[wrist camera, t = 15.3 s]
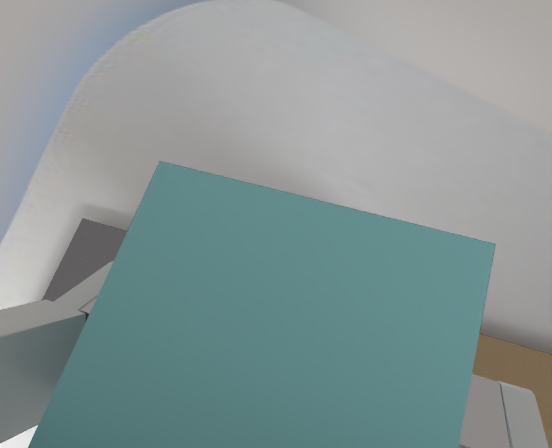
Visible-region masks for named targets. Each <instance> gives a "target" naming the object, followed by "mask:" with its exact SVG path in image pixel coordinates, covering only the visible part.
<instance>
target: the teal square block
mask: <svg viewBox="0 0 552 448" xmlns="http://www.w3.org/2000/svg"><path fill="white" fill-rule="evenodd" d="M494 250H495V244H494V243H490V242H486V241H481V240H477V239H473V238H469V237H465V236H461V235H457V234H453V233H449V232H445V231H441V230H437V229H433V228H429V227H425V226H421V225H417V224H413V223H409V222H405V221H401V220H396V219H392V218H388V217H384V216H380V215H376V214H372V213H368V212H364V211H360V210H356V209H352V208H348V207H344V206H340V205H336V204H332V203H328V202H324V201H320V200H316V199H311V198H307V197H303V196H299V195H295V194H291V193H287V192H283V191H279V190H275V189H271V188H267V187H263V186H259V185H255V184H251V183H247V182H243V181H239V180H235V179H231V178H226V177H222V176H218V175H214V174H210V173H206V172H202V171H198V170H194V169H190V168H186V167H182V166H178V165H174V164H170V163H166V162H162V161H160V162H159V164H158V166H157V168H156V170H155V173H154V175H153V177H152V179H151V181H150V183H149V186H148V188H147V190H146V192H145V194H144V196H143V199H142V201H141V203H140V205H139V207H138V210H137V212H136V214H135V216H134V218H133V220H132V223H131V225H130V227H129V229H128V231H127V233H126V236H125V238H124V240H123V242H122V244H121V247H120V249H119V251H118V253H117V255H116V257H115V260H114V262H113V264H112V266H111V268H110V270H109V273H108V275H107V277H106V279H105V281H104V284H103V286H102V288H101V290H100V292H99V294H98V297H97V299H96V301H95V303H94V305H93V307H92V310H91V312H90V314H89V316H88V318H87V320H86V323H85V325H84V327H83V329H82V331H81V334H80V336H79V338H78V340H77V342H76V344H75V347H74V349H73V351H72V353H71V355H70V357H69V360H68V362H67V364H66V366H65V368H64V371H63V373H62V375H61V377H60V379H59V381H58V384H57V386H56V388H55V390H54V392H53V394H52V397H51V399H50V401H49V403H48V405H47V408H46V410H45V412H44V414H43V416H42V418H41V421H40V423H39V425H38V427H37V429H36V431H35V434H34V436H33V438H32V440H31V442H30V444H29V447H28V448H458V447H459V442H460V436H461V431H462V425H463V420H464V414H465V409H466V403H467V398H468V392H469V387H470V381H471V376H472V370H473V365H474V359H475V354H476V349H477V343H478V338H479V332H480V327H481V321H482V316H483V310H484V305H485V299H486V294H487V288H488V283H489V277H490V272H491V266H492V261H493V255H494Z"/></svg>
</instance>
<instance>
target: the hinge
mask: <svg viewBox="0 0 552 448" xmlns="http://www.w3.org/2000/svg"><path fill="white" fill-rule="evenodd" d="M126 233H127V231H124V230H121V229H117V228H114V227H111V226H107V225H104V224H100V223H97V222H93V221H90V220H86V219H82V221H81V223H80V225H79V227H78V229H77V231H76V233H75V235H74V237H73V239H72V241H71V243H70V245H69V247H68V249H67V251H66V253H65V255H64V257H63V259H62V261H61V263H60V265H59V267H58V269H57V271H56V273H55V275H54V277H53V279H52V281H51V283H50V286H49V288H48V290H47V292H46V294H45V296H44V298H43V300H49V301H52V302H54V301H55V300H57V299H58V298H60V297H61V296H62V295H64V294H65V293H67V292H68V291H70V290H71V289H72V288H74V287H75V286H77V285H78V284H80V283H81V282H82V281H84V280H85V279H87V278H88V277H89V276H91V275H92V274H94V273H95V272H97V271H98V270H99V269H101V268H102V267H104V266H105V265H107V264H108V263H109V262H112V261H114V260H115V257H116V255H117V253H118V251H119V249H120V247H121V244H122V242H123V240H124V238H125V236H126ZM472 374H474V375H477V376H481V377H484V378H487V379H490V380H493V381H501V382H504V383H507V384H511V385H514V386H518V387H521V388H525V389H528V390H531V391H532V392H533V394H534V395H535V397H536V401H537V405H538V409H539V412H540V416H541V420H542V424H543V427H544V431H545V435H546V439H547V443H548V446H549V448H552V355H551V354H548V353H544V352H541V351H538V350H534V349H531V348H527V347H524V346H520V345H517V344H513V343H510V342H507V341H503V340H500V339H496V338H493V337H489V336H486V335H482V334H479V338H478V343H477V349H476V354H475V359H474V365H473V370H472Z"/></svg>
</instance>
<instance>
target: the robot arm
mask: <svg viewBox="0 0 552 448" xmlns="http://www.w3.org/2000/svg"><path fill="white" fill-rule="evenodd" d="M113 262H114V261H112V262H109V263H108V264H107V265H105V266H104V267H102V268H101V269H99V270H98V271H97V272H95V273H94V274H92V275H91V276H89V277H88V278H87V279H85V280H84V281H82V282H81V283H80V284H78V285H77V286H75V287H74V288H72V289H71V290H70V291H68V292H67V293H65V294H64V295H62V296H61V297H60V298H58V299H57V300H55V301H54V302H52V301H49V300H42V301H38V302H33V303H29V304H25V305H20V306H16V307H12V308H7V309H3V310H0V443H2V442H4V441H6V440H8V439H10V438H12V437H14V436H16V435H18V434H20V433H22V432H24V431H26V430H28V429H30V428H32V427H34V426H36V425H38V424H39V423H40V421H41V418H42V416H43V414H44V412H45V410H46V408H47V405H48V403H49V401H50V399H51V397H52V394H53V392H54V390H55V388H56V386H57V384H58V381H59V379H60V377H61V375H62V373H63V371H64V368H65V366H66V364H67V362H68V360H69V357H70V355H71V353H72V351H73V349H74V347H75V344H76V342H77V340H78V338H79V336H80V334H81V331H82V329H83V327H84V325H85V323H86V320H87V318H88V316H89V314H90V312H91V310H92V307H93V305H94V303H95V301H96V299H97V297H98V294H99V292H100V290H101V288H102V286H103V284H104V281H105V279H106V277H107V275H108V273H109V270H110V268H111V266H112V264H113ZM458 448H549V446H548V443H547V439H546V435H545V431H544V427H543V424H542V420H541V416H540V412H539V409H538V405H537V401H536V397H535V395H534V394H533V392H532V391H531V390H528V389H525V388H521V387H518V386H514V385H511V384H507V383H504V382H501V381H493V380H490V379H487V378H484V377H481V376H477V375H474V374H472V376H471V381H470V387H469V392H468V398H467V403H466V409H465V414H464V420H463V425H462V431H461V436H460V442H459V447H458Z"/></svg>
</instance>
